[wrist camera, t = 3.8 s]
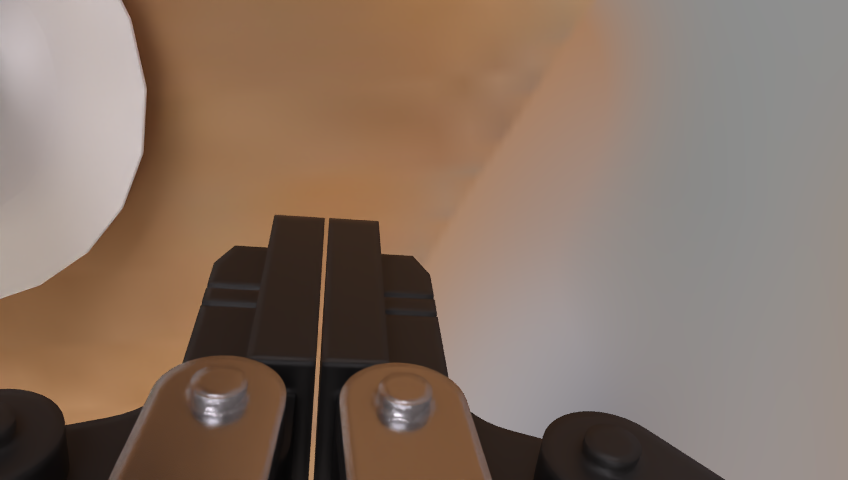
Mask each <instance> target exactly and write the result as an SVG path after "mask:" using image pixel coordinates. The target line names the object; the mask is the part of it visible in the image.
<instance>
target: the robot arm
mask: <svg viewBox="0 0 848 480" xmlns="http://www.w3.org/2000/svg"><path fill="white" fill-rule="evenodd" d="M324 222H325V218H317V217H302V216H286V215H275V216H274V220H273V225H272V230H271V235H270V240H269V245H268V248H266V247H249V246H234V247H233V248H232V249H230V250H229V251H228V252H227V253H225V254H224V255H223V256H222V257H221V258H219V259H218V260H217V261H216V262H215V263H214V265H213V268H212V271H211V274H210V278H209V281H208V286H207V288H206V290H205V294H204V297H203V300H202V306H200V309H199V313H198V316H197V319H196V322H195V325H194V328H193V332H192V335H191V338H190V341H189V344H188V347H187V351H186V354H185V357H184V360H183V363H182V364H180V365H178V366H176V367H174V368H172V369H171V370H169V371H168V372H166V373H165V374H164V375H162V377H161V378H160V379H159V380H158V381H157V382H156V383H155V385H154V386H153V388H152V390H151V392H150V394H149V396H148V398H147V400H146V402H145V404H144V406H143V407H140V408H138V409H136V410H133V411H130V412H127V413H124V414H121V415H117V416H113V417H108V418H103V419H97V420H92V421H86V422H81V423H75V424H70V425H65V421H64V417H63V414H62V411H61V410H60V408H59V407H58V405H56V404H55V403H54V402H53V401H52V400H50V399H48V398H47V397H45V396H43V395H40V394H37V393H34V392H30V391H25V390H17V389H0V480H308V476H309V462H310V446H311V431H312V415H313V400H314V384H315V369H316V353H317V337H318V321H319V305H320V289H321V272H322V256H323V239H324ZM433 297H434V295H433V289H432V283H431V278H430V274H429V273H428V272H427V271H426V270H425V269H424V268H423V267H422V266H421V265H420V263H419V262H418V261H417V260H416V259H415V258H414V257H413V256H404V255H387V254H381V246H380V232H379V222H378V221H366V220H351V219H335V218H329V230H328V245H327V261H326V277H325V293H324V308H323V324H322V341H321V358H320V376H319V394H318V411H317V429H316V447H315V465H314V480H725V479H723V478H721V477H720V476H718V475H717V474H715V473H714V472H712V471H711V470H709V469H708V468H706V467H704V466H703V465H701V464H700V463H698V462H697V461H695V460H694V459H692V458H691V457H689V456H687V455H686V454H684V453H682V452H681V451H680V450H678V449H676V448H675V447H673V446H672V445H670V444H669V443H667V442H666V441H664V440H663V439H661V438H659V437H658V436H656V435H655V434H653V433H652V432H650V431H649V430H647V429H645V428H644V427H642V426H640V425H638V424H637V423H634V422H632V421H630V420H628V419H625V418H622V417H619V416H616V415H612V414H608V413H602V412H592V411H590V412H589V411H583V412H576V413H570V414H567V415H564V416H562V417H560V418H558V419H556V420H555V421H553V422H552V423H551V424H550V425H549V426H548V427H547V429H546V430H545V433H544V435H543V438H542V439H541V438H537V437H533V436H529V435H525V434H522V433H518V432H514V431H511V430H507V429H504V428H501V427H498V426H495V425H493V424H490V423H488V422H486V421H484V420H482V419H481V418H479V417H477V416H476V415H474V414H473V413H471V412H470V409H469V406H468V403H467V400H466V398H465V395H464V393H463V392H462V391H461V389H460V388H459V387H458V386H457V385H456V384H455V383H454V382H453V381H452V380H450V379H449V378H448V372H447V367H446V361H445V356H444V350H443V344H442V339H441V333H440V328H439V322H438V317H436V316H437V312H436V306H435V300H434V299H433Z"/></svg>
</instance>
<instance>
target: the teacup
mask: <svg viewBox="0 0 848 480" xmlns="http://www.w3.org/2000/svg"><path fill="white" fill-rule="evenodd" d="M146 96H147V87H146V83H145V78H144V74H143V69H142V65H141V61H140V56H139V52H138V47H137V43H136V38H135V34H134V29H133V25H132V21H131V18H130V16H129V14H128V12H127V10H126V8H125V6H124V4H123V2H122V0H0V299H1V298H4V297H7V296H10V295H13V294H16V293H19V292H22V291H25V290H28V289H31V288H34V287H37V286H39V285H41V284H43V283H44V282H46V281H47V280H49V279H50V278H51V277H53V276H54V275H56V274H57V273H59V272H60V271H62V270H63V269H65V268H66V267H67V266H69V265H70V264H72V263H73V262H75V261H76V260H78V259H79V258H81V257H82V256H83V255H85V254H86V253H88V252H89V251H90V249H91V248H92V247H93V246H94V244H95V243H96V242H97V240H98V239H99V238H100V237H101V235H102V234H103V233H104V232H105V230H106V229H107V228H108V227H109V225H110V224H111V223H112V221H113V220H114V219H115V218H116V216H117V215H118V214H119V213H120V211H121V210H122V209H123V207H124V204H125V202H126V199H127V196H128V193H129V191H130V188H131V185H132V183H133V180H134V177H135V175H136V172H137V169H138V166H139V164H140V161H141V158H142V156H143V153H144V134H145V115H146Z"/></svg>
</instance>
